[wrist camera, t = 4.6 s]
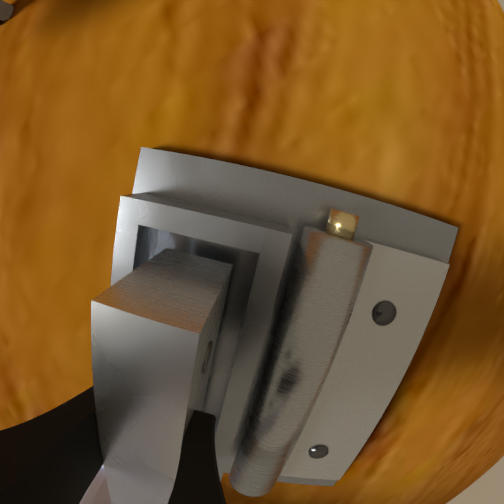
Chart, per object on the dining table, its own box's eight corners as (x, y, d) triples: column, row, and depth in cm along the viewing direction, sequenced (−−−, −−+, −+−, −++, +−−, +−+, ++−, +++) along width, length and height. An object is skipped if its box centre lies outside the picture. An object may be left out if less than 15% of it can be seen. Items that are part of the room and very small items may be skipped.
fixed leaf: (331, 476, 15) (336, 515, 12) (124, 433, 16) (105, 468, 13) (449, 224, 12) (491, 238, 9) (149, 148, 12) (111, 141, 9)
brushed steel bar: (197, 441, 13) (173, 524, 8) (148, 426, 13) (111, 503, 8) (235, 264, 11) (202, 334, 6) (166, 247, 11) (91, 300, 6)
